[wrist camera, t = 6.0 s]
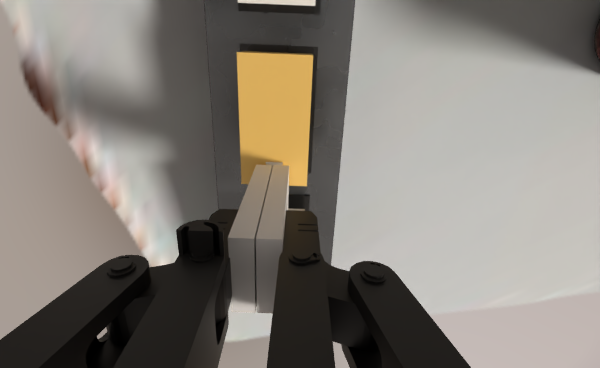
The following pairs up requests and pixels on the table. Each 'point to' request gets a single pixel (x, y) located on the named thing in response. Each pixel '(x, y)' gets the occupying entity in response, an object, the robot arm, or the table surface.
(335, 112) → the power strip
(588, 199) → the table surface
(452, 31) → the table surface
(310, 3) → the rocker
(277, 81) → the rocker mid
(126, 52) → the table surface
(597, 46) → the can
